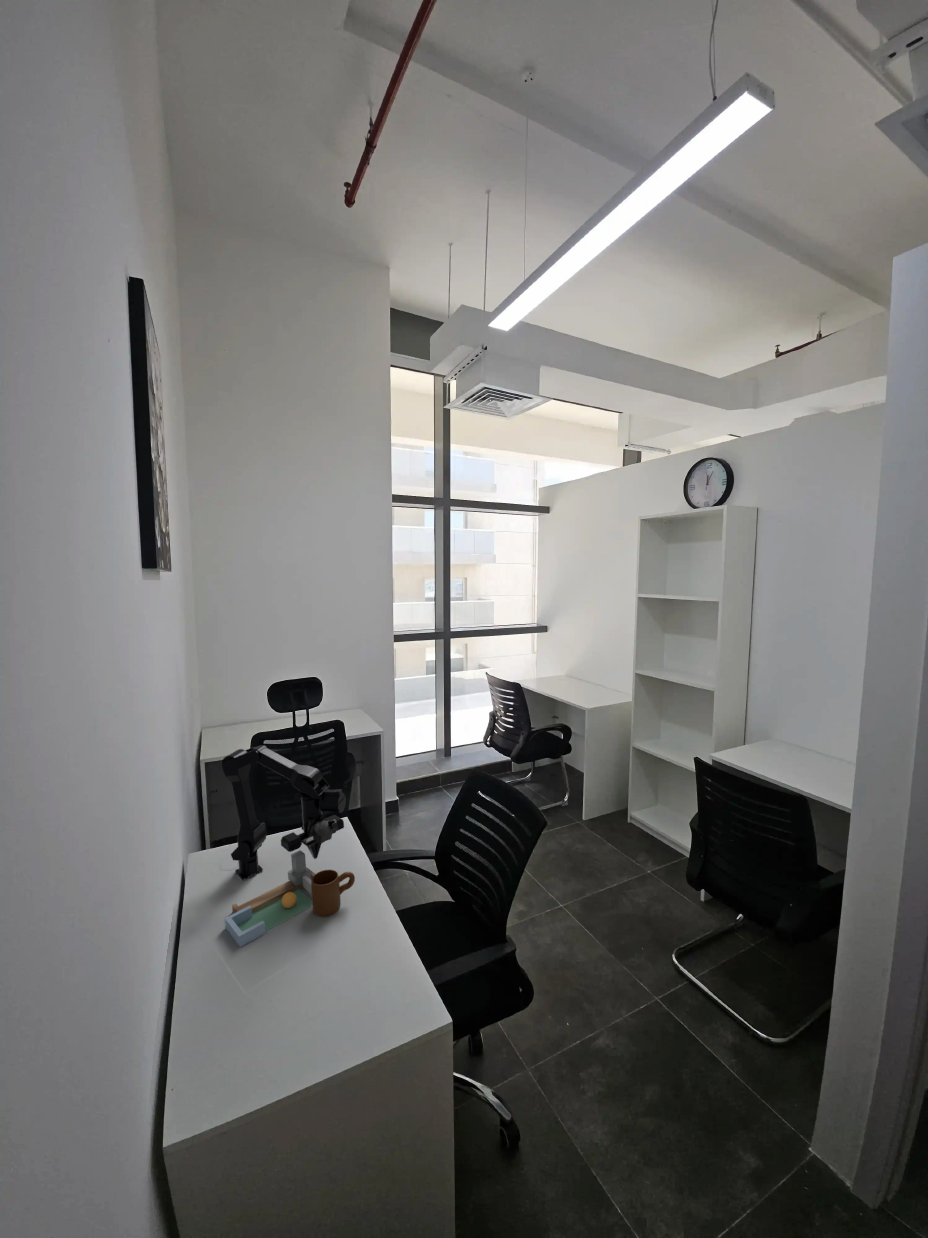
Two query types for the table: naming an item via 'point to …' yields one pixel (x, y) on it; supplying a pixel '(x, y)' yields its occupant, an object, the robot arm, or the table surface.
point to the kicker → (300, 871)
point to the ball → (289, 900)
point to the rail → (269, 896)
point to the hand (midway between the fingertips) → (315, 858)
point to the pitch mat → (277, 912)
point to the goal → (247, 934)
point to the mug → (328, 891)
